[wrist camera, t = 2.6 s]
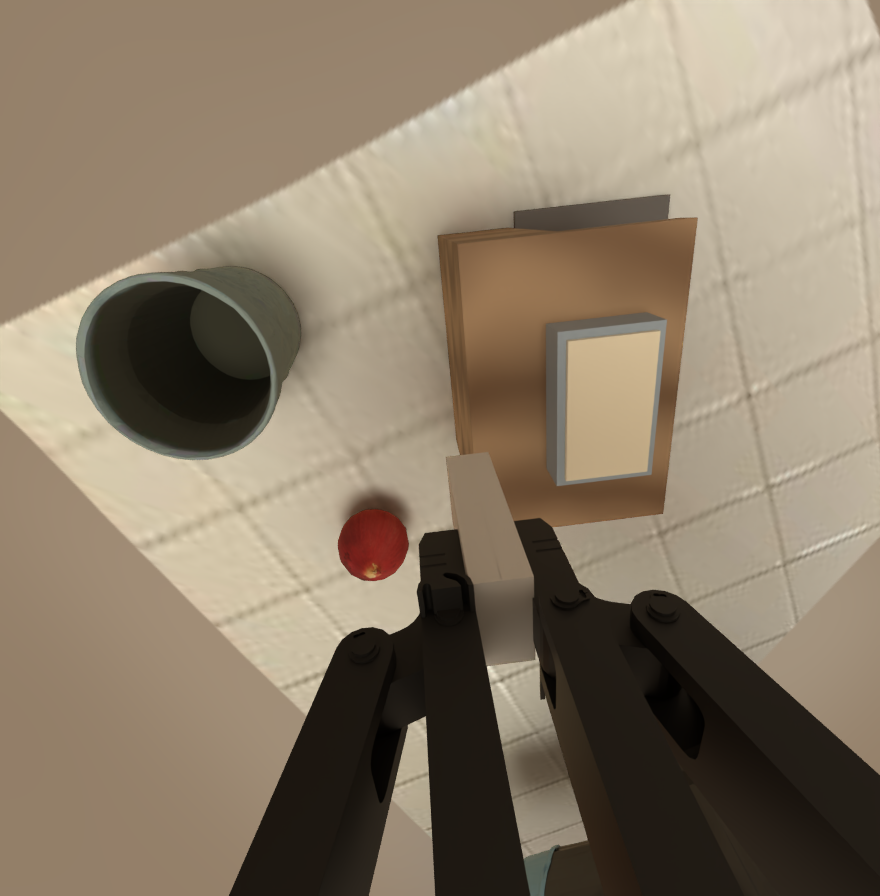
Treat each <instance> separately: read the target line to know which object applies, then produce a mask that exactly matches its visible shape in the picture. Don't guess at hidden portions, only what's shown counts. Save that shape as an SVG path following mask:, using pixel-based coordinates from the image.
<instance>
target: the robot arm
mask: <svg viewBox="0 0 880 896" xmlns="http://www.w3.org/2000/svg"><path fill="white" fill-rule="evenodd" d="M446 462H447V471H448V481H449V490H450V500H451V510H452V519H453V526H454V530H447V531H438V532H430V533H425V534H424V536H423V538H422V540H421V541H420V543H419V557H420V576H421V582H420V583H419V585H418V589H417V596H418V603H419V609H420V614H419V616H418V617H417V618H416V620H415V621H414V622H413V623H411V624H410V625H409V626H408V627H406V628H404V629H402V630H400V631H398V632H395V633H393V634H390V635H389V634H388V633H386V632H385V631H384V630H382V629H378V628H373V627H371V628H361V629H359V630H356V631H354V632H351V633H350V634H349V635H347V636H346V637H345V638H344V639H342V641H341V642H340V644H339V645H338V647H337V648H336V650H335V653H334V655H333V657H332V659H331V662H330V664H329V666H328V669H327V671H326V673H325V676H324V678H323V680H322V683H321V685H320V687H319V689H318V692H317V694H316V696H315V699H314V701H313V703H312V706H311V708H310V710H309V712H308V715H307V717H306V719H305V722H304V724H303V726H302V729H301V731H300V733H299V736H298V738H297V740H296V742H295V745H294V747H293V749H292V752H291V754H290V756H289V759H288V761H287V763H286V765H285V768H284V770H283V772H282V775H281V777H280V779H279V782H278V784H277V786H276V788H275V791H274V793H273V795H272V798H271V800H270V802H269V805H268V807H267V809H266V812H265V814H264V816H263V818H262V821H261V823H260V825H259V828H258V830H257V832H256V835H255V837H254V839H253V841H252V844H251V846H250V848H249V851H248V853H247V855H246V857H245V860H244V862H243V864H242V867H241V869H240V871H239V874H238V876H237V878H236V881H235V883H234V885H233V888H232V890H231V892H230V894H229V896H369V892H370V887H371V883H372V879H373V874H374V870H375V866H376V862H377V858H378V853H379V849H380V845H381V840H382V836H383V831H384V827H385V823H386V819H387V815H388V810H389V805H390V802H391V797H392V793H393V789H394V785H395V780H396V776H397V772H398V767H399V763H400V759H401V755H402V750H403V746H404V742H405V737H406V733H407V729H408V724H410V723H412V722H415V721H417V720H419V719H421V718H423V717H425V716H426V725H427V745H428V764H429V783H430V802H431V822H432V841H433V860H434V879H435V896H880V775H879V774H878V773H877V772H875V771H874V770H873V769H872V768H871V767H870V766H869V765H868V764H867V763H866V762H864V761H863V760H862V759H861V758H860V757H859V756H857V754H856V753H854V752H853V751H852V750H851V749H850V748H849V747H848V746H847V745H845V744H844V743H843V742H842V741H841V740H840V739H839V738H838V737H837V736H835V735H834V734H833V733H832V732H831V731H830V730H829V729H827V727H825V726H824V725H823V724H822V723H821V722H820V721H819V720H818V719H816V718H815V717H814V716H813V715H812V714H811V713H810V712H808V710H806V709H805V708H804V707H803V706H802V705H801V704H800V703H798V702H797V701H796V700H795V699H794V698H793V697H792V696H791V695H790V694H789V693H787V692H786V691H785V690H784V689H783V688H782V687H781V686H780V685H779V684H777V683H776V682H775V681H774V680H773V679H772V678H771V677H770V676H768V675H767V674H766V673H765V672H764V671H763V670H762V669H761V668H759V667H758V666H757V665H756V664H755V663H754V662H753V661H752V660H751V659H750V658H748V657H747V656H746V655H745V654H744V653H743V652H742V651H741V650H739V649H738V648H737V647H736V646H735V645H734V644H733V643H732V642H731V641H729V640H728V639H727V638H726V637H725V636H724V635H723V634H722V633H721V632H719V631H718V630H717V629H716V628H715V627H714V626H713V625H712V624H710V623H709V622H708V621H707V620H706V619H705V618H704V617H703V616H702V615H700V614H699V613H698V612H697V611H696V610H695V609H694V608H693V607H692V606H690V605H689V604H688V603H687V602H686V601H684V600H683V599H681V598H680V597H678V596H677V595H674V594H672V593H669V592H666V591H659V590H649V591H643V592H641V593H639V594H638V595H636V596H635V597H634V599H633V601H632V602H631V604H624V603H615V602H609V601H604V600H601V599H599V598H596V597H594V595H593V594H592V593H591V592H590V590H589V589H588V588H586V587H584V586H583V585H581V584H579V582H578V580H577V578H576V576H575V574H574V572H573V570H572V568H571V566H570V564H569V561H568V559H567V557H566V555H565V553H564V551H563V550H562V547H561V545H560V543H559V541H558V540H557V537H556V534H555V532H554V530H553V528H552V527H551V526H550V525H549V524H548V523H546V522H545V521H544V520H542V519H541V518H535V519H526V520H518V521H513V518H512V516H511V513H510V510H509V507H508V505H507V502H506V499H505V496H504V494H503V491H502V488H501V486H500V483H499V480H498V477H497V475H496V472H495V469H494V466H493V464H492V461H491V458H490V455H489V453H488V452H483V453H475V454H467V455H459V456H450V457H446ZM535 648H536V652H537V655H538V658H539V661H540V698H541V700H542V699H545V696H546V699H547V703H548V706H549V709H550V713H551V716H552V720H553V723H554V726H555V730H556V733H557V736H558V740H559V743H560V747H561V750H562V753H563V757H564V760H565V763H566V767H567V770H568V774H569V777H570V780H571V784H572V787H573V790H574V794H575V797H576V801H577V804H578V807H579V811H580V814H581V817H582V821H583V824H584V828H585V831H586V834H587V838H588V841H583V842H579V843H574V844H570V845H565V846H560V845H555V846H553V847H552V848H551V849H550V850H548V851H544V852H541V853H538V854H534V855H531V856H528V857H526V858H524V859H523V854H522V849H521V844H520V838H519V833H518V828H517V823H516V817H515V812H514V807H513V802H512V797H511V791H510V786H509V781H508V776H507V771H506V765H505V760H504V755H503V750H502V744H501V739H500V734H499V729H498V724H497V718H496V713H495V708H494V703H493V698H492V692H491V687H490V682H489V677H488V672H487V666H491V665H499V664H507V663H515V662H522V661H530V660H535Z"/></svg>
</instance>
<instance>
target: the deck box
mask: <svg viewBox="0 0 880 896" xmlns="http://www.w3.org/2000/svg"><path fill="white" fill-rule="evenodd" d="M666 325H667V319H664V318H661V317H658V316H656V315H653V314H650V313H648V312H644V313H635V314H627V315H618V316H609V317H600V318H592V319H583V320H574V321H565V322H557V323H548V324H546V458H547V470H548V472H549V474H550V475H551V477H552V479H553V480H554V482H555V484H556V486H562V485H571V484H579V483H587V482H596V481H604V480H612V479H620V478H629V477H637V476H645V475H651V474H652V464H653V454H654V444H655V434H656V424H657V415H658V405H659V395H660V385H661V375H662V365H663V355H664V345H665V335H666Z"/></svg>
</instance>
